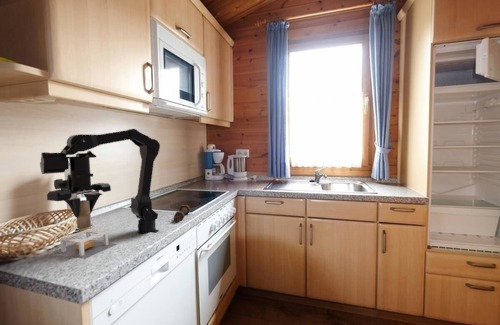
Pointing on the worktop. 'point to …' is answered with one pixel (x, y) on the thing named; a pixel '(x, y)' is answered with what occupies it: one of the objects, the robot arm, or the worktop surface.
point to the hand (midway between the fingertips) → (83, 215)
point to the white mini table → (80, 252)
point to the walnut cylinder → (84, 215)
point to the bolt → (181, 213)
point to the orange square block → (86, 244)
